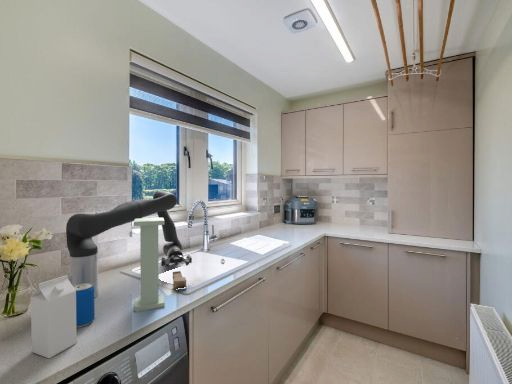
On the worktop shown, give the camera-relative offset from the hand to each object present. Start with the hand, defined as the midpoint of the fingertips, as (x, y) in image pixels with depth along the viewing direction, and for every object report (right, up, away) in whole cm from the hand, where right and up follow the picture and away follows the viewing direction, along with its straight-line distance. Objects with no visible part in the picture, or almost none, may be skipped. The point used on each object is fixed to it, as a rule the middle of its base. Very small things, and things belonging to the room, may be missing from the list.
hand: (177, 264), depth 120 cm
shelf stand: (-3, -8, -24) cm, 26 cm away
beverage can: (-19, -9, -37) cm, 43 cm away
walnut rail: (+1, -8, -3) cm, 8 cm away
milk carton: (-19, -9, -50) cm, 54 cm away
